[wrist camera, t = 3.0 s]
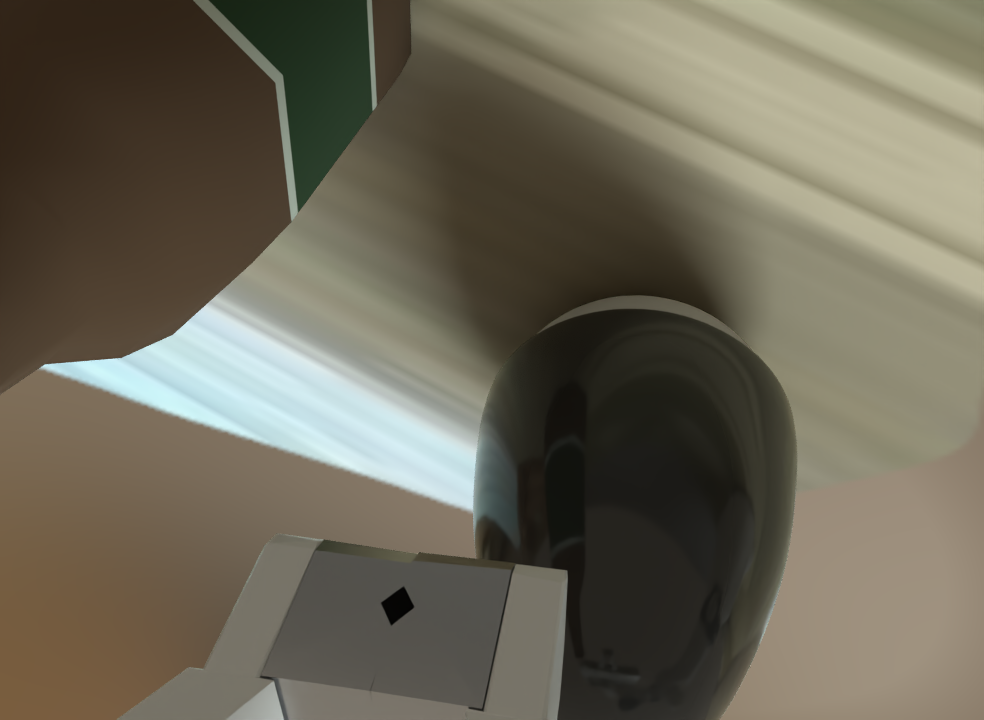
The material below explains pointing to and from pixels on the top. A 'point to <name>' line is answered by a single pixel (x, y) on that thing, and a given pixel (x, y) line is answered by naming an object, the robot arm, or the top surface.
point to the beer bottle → (165, 154)
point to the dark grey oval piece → (642, 500)
